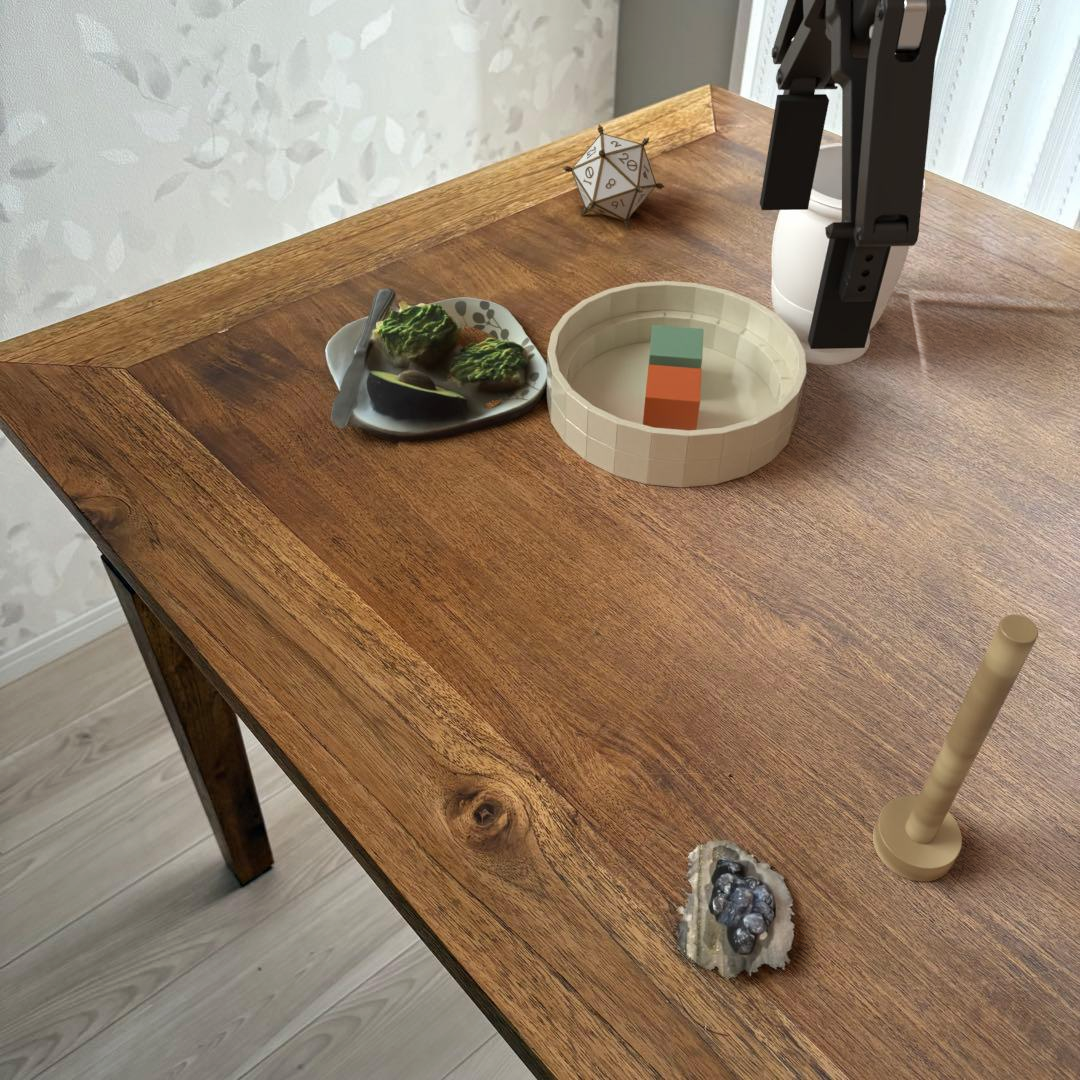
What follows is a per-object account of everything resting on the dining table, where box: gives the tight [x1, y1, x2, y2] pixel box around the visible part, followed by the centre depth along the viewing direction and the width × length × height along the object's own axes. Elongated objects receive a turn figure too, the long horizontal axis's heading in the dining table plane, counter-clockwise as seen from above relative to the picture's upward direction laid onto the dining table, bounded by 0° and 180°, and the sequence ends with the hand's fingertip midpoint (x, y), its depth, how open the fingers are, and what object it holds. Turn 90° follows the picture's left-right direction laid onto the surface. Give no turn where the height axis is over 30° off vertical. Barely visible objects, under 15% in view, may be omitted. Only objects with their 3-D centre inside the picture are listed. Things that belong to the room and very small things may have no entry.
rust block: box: [643, 365, 702, 430], centre depth 83 cm, size 4×4×4 cm
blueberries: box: [675, 838, 795, 980], centre depth 58 cm, size 7×8×2 cm
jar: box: [770, 142, 926, 366], centre depth 88 cm, size 11×10×15 cm
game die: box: [562, 124, 666, 230], centre depth 105 cm, size 9×8×10 cm
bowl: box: [546, 280, 808, 488], centre depth 85 cm, size 19×19×6 cm
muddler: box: [872, 614, 1039, 883], centre depth 54 cm, size 4×4×18 cm
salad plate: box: [324, 287, 547, 444], centre depth 89 cm, size 19×18×5 cm
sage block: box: [649, 325, 703, 369], centre depth 87 cm, size 4×4×4 cm
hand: (807, 270), depth 60 cm, fingers open, 13 cm apart
